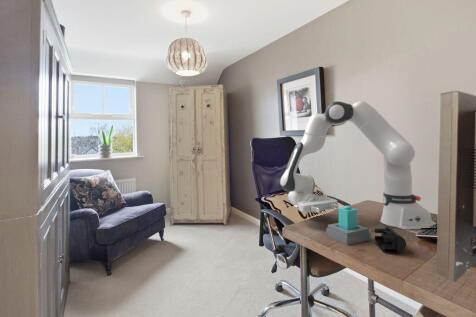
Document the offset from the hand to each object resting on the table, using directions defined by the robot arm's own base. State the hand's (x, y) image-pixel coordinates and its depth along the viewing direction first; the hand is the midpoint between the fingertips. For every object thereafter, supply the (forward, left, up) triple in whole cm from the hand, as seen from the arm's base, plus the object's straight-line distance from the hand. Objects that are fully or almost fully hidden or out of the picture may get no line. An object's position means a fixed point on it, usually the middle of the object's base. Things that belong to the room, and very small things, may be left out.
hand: (328, 209), depth 118 cm
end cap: (-18, +20, -9) cm, 28 cm away
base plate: (-6, +10, -9) cm, 15 cm away
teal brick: (-6, +10, -6) cm, 13 cm away
